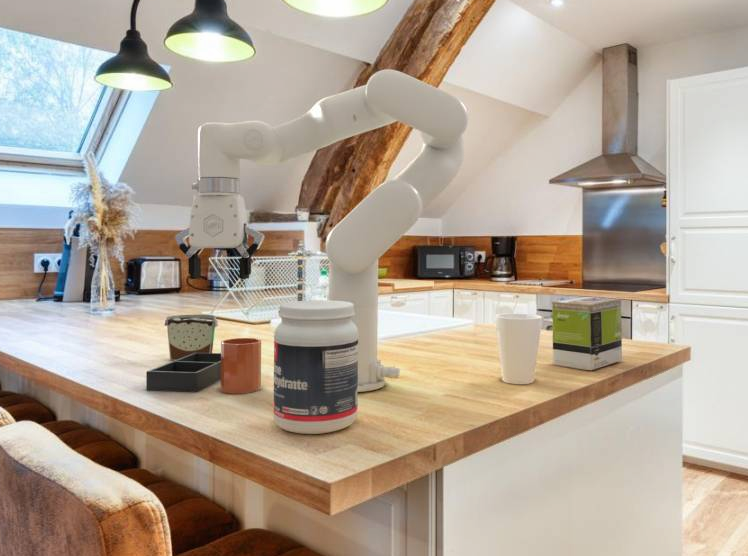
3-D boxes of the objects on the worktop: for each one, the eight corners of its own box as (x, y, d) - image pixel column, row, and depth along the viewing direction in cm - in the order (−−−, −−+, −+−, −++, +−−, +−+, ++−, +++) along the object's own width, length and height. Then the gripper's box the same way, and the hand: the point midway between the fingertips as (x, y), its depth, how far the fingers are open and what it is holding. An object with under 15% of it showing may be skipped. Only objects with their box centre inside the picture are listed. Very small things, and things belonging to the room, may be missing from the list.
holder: (195, 368, 133) (195, 352, 133) (238, 370, 132) (238, 353, 132) (146, 390, 114) (146, 371, 114) (196, 392, 113) (196, 373, 113)
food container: (226, 356, 146) (226, 314, 146) (215, 361, 140) (215, 318, 140) (177, 355, 148) (177, 313, 148) (164, 360, 142) (164, 316, 142)
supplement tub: (255, 425, 93) (256, 304, 93) (319, 407, 103) (320, 298, 103) (311, 443, 85) (312, 311, 85) (375, 422, 95) (376, 303, 95)
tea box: (584, 356, 151) (584, 295, 151) (623, 362, 144) (623, 298, 144) (550, 364, 140) (551, 299, 140) (591, 371, 133) (591, 303, 133)
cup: (266, 385, 119) (266, 338, 119) (252, 394, 112) (252, 344, 112) (230, 383, 120) (231, 337, 120) (214, 392, 112) (214, 343, 112)
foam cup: (488, 383, 122) (489, 317, 122) (500, 373, 130) (501, 312, 130) (536, 387, 118) (537, 320, 118) (545, 378, 127) (546, 314, 127)
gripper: (166, 188, 114) (166, 280, 114) (256, 186, 113) (257, 280, 113) (185, 191, 122) (185, 277, 122) (269, 189, 120) (270, 277, 120)
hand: (219, 278), depth 117 cm, fingers open, 9 cm apart
